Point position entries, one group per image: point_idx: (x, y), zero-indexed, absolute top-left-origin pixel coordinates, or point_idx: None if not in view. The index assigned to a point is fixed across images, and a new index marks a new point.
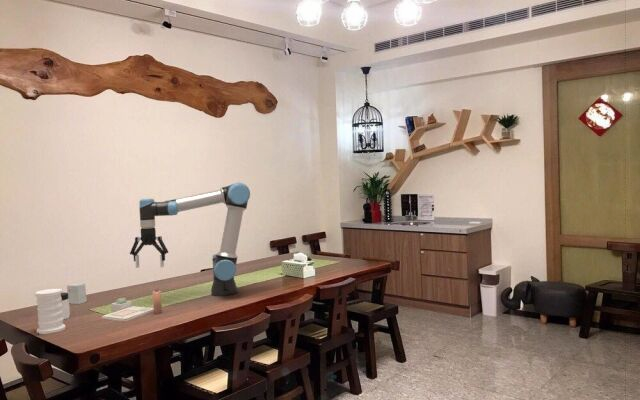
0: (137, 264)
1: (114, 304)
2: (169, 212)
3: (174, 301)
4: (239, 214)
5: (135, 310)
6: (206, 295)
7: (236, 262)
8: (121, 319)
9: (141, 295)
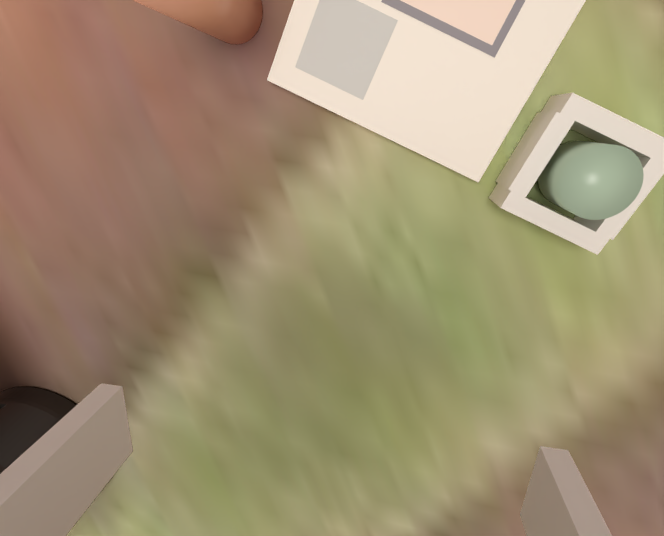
0: (557, 516)
1: (640, 127)
2: None
3: (248, 322)
4: None
5: (414, 30)
6: None
7: None
8: None
9: (519, 509)
